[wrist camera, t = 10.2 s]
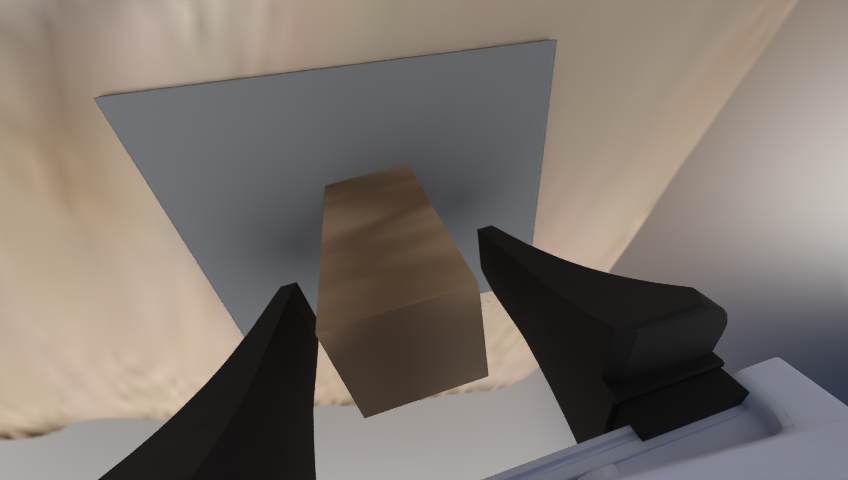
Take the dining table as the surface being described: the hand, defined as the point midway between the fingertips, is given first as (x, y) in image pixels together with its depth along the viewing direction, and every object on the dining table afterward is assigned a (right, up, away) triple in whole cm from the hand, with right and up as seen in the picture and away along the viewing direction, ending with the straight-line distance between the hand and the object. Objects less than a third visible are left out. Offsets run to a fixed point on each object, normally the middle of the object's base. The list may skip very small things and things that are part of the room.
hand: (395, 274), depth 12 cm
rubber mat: (-1, +3, +4) cm, 5 cm away
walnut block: (-1, +3, +4) cm, 5 cm away
